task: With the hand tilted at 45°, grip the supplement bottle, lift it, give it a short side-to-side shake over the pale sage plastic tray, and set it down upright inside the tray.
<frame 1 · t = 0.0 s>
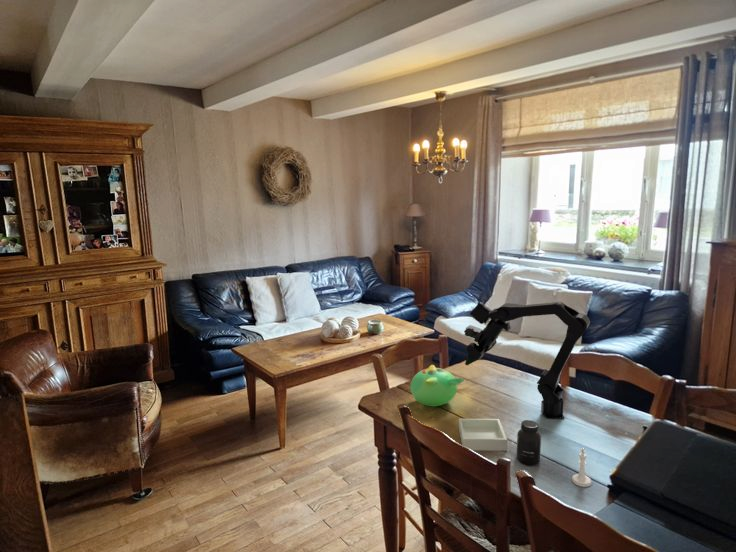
hand: (470, 360, 183), 15 cm above the table, tool tilted 35°, fingers open, 9 cm apart
toy bird: (434, 404, 180), on the table
supplement bottle: (528, 461, 140), on the table
chess piece: (581, 482, 129), on the table
tray: (481, 439, 153), on the table
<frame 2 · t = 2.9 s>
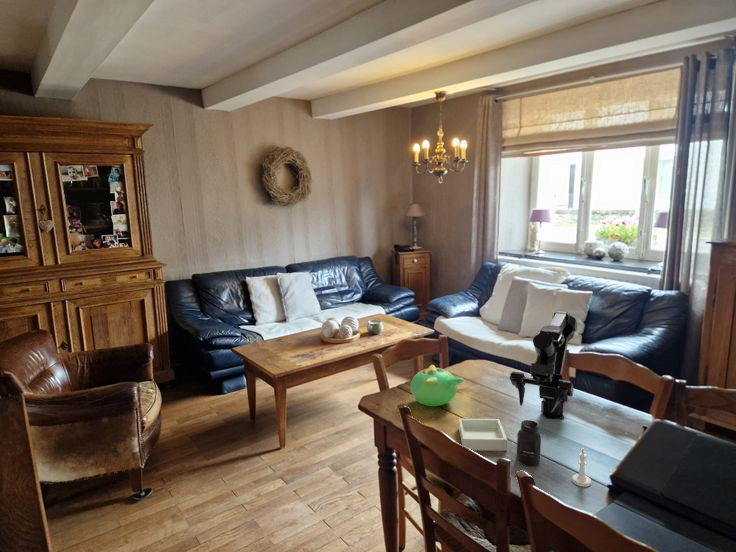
hand: (535, 408, 144), 13 cm above the table, tool tilted 45°, fingers open, 9 cm apart
nothing on the table moved.
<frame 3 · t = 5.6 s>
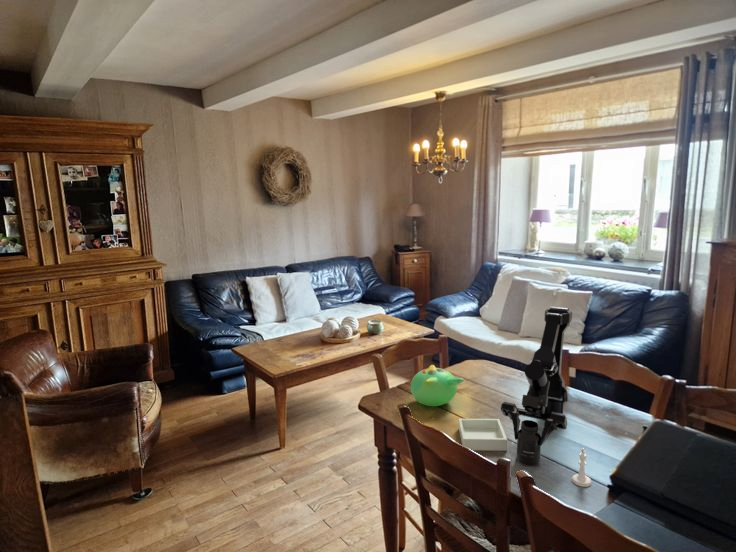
hand: (527, 442, 138), 7 cm above the table, tool tilted 45°, fingers closed on supplement bottle, 7 cm apart
supplement bottle: (528, 460, 140), on the table, touching gripper
everything else where it was.
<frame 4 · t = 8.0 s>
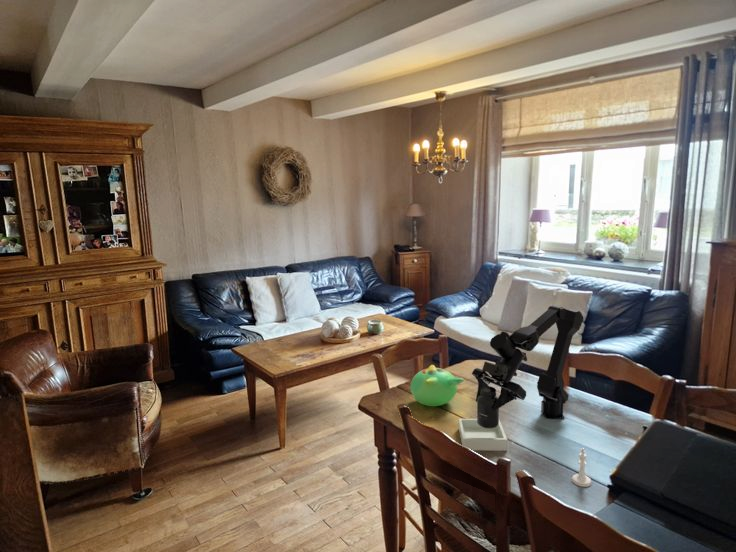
hand: (485, 405, 148), 13 cm above the table, tool tilted 45°, fingers closed on supplement bottle, 7 cm apart
supplement bottle: (488, 424, 150), point 6 cm above the table, touching gripper
everything else where it was.
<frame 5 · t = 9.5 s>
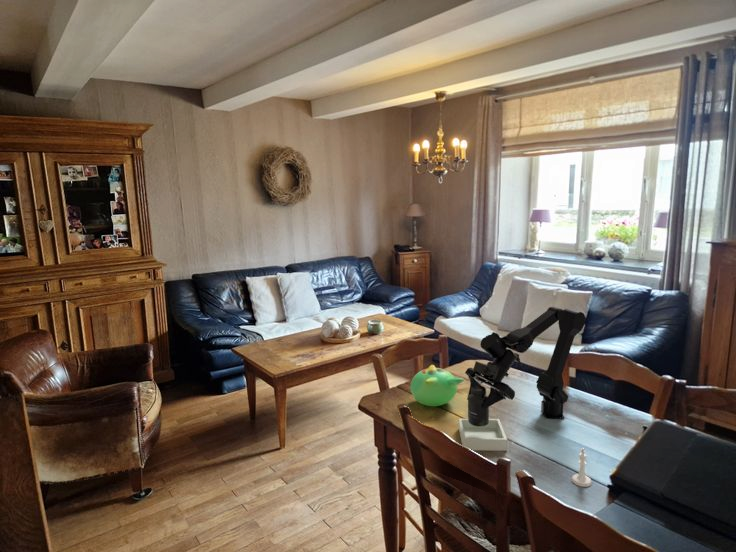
hand: (475, 404, 152), 12 cm above the table, tool tilted 45°, fingers closed on supplement bottle, 7 cm apart
supplement bottle: (478, 422, 154), point 5 cm above the table, touching gripper
everything else where it was.
when the fingers open (9 cm above the table, at t = 10.6 s): supplement bottle drops 1 cm, resting on tray.
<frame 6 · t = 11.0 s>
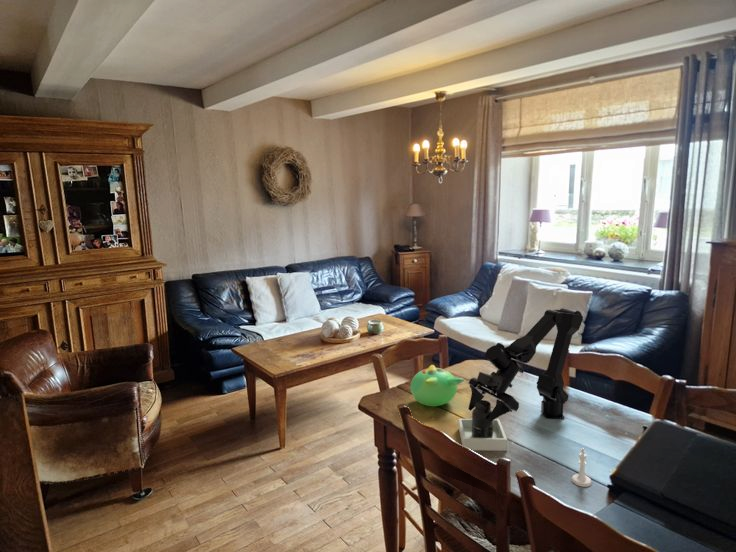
hand: (478, 415, 151), 9 cm above the table, tool tilted 45°, fingers open, 9 cm apart
supplement bottle: (482, 437, 153), point 1 cm above the table, touching tray
everything else where it was.
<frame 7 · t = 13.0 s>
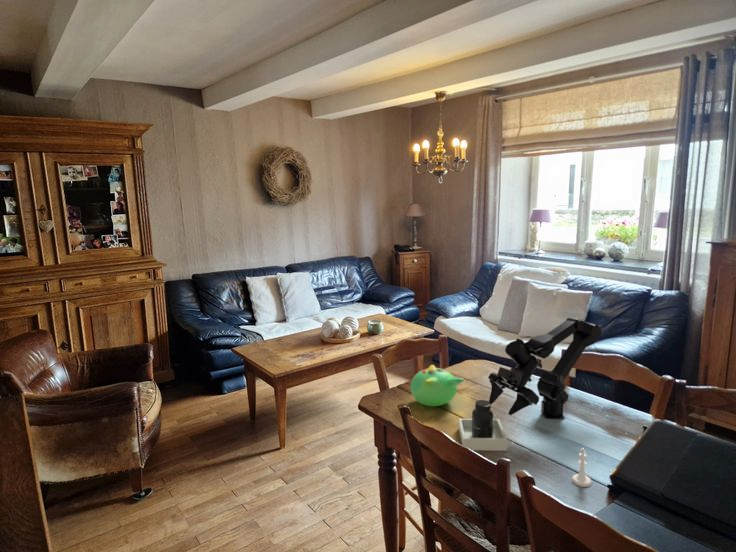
hand: (499, 409, 155), 9 cm above the table, tool tilted 45°, fingers open, 9 cm apart
nothing on the table moved.
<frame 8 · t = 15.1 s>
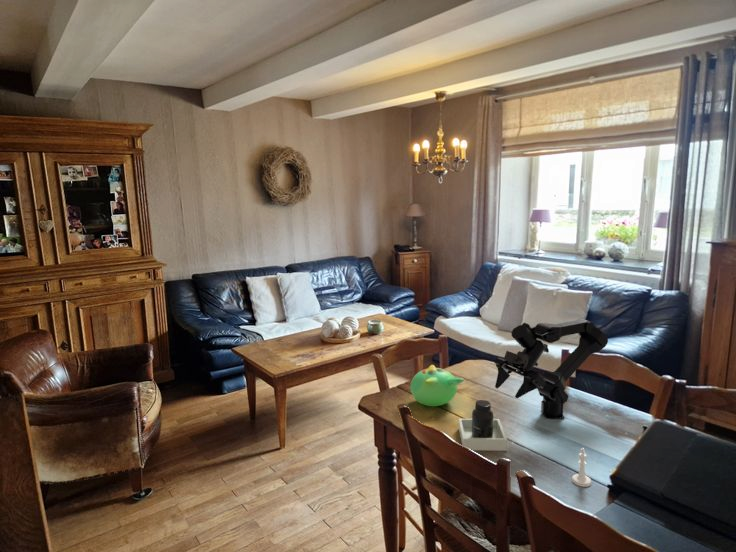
hand: (505, 392, 156), 14 cm above the table, tool tilted 45°, fingers open, 9 cm apart
nothing on the table moved.
at the end: supplement bottle inside the target area on the tray (0.2 cm from its centre), point 0.6 cm above the tray's base; supplement bottle tilted 0°; the gripper is holding nothing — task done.
